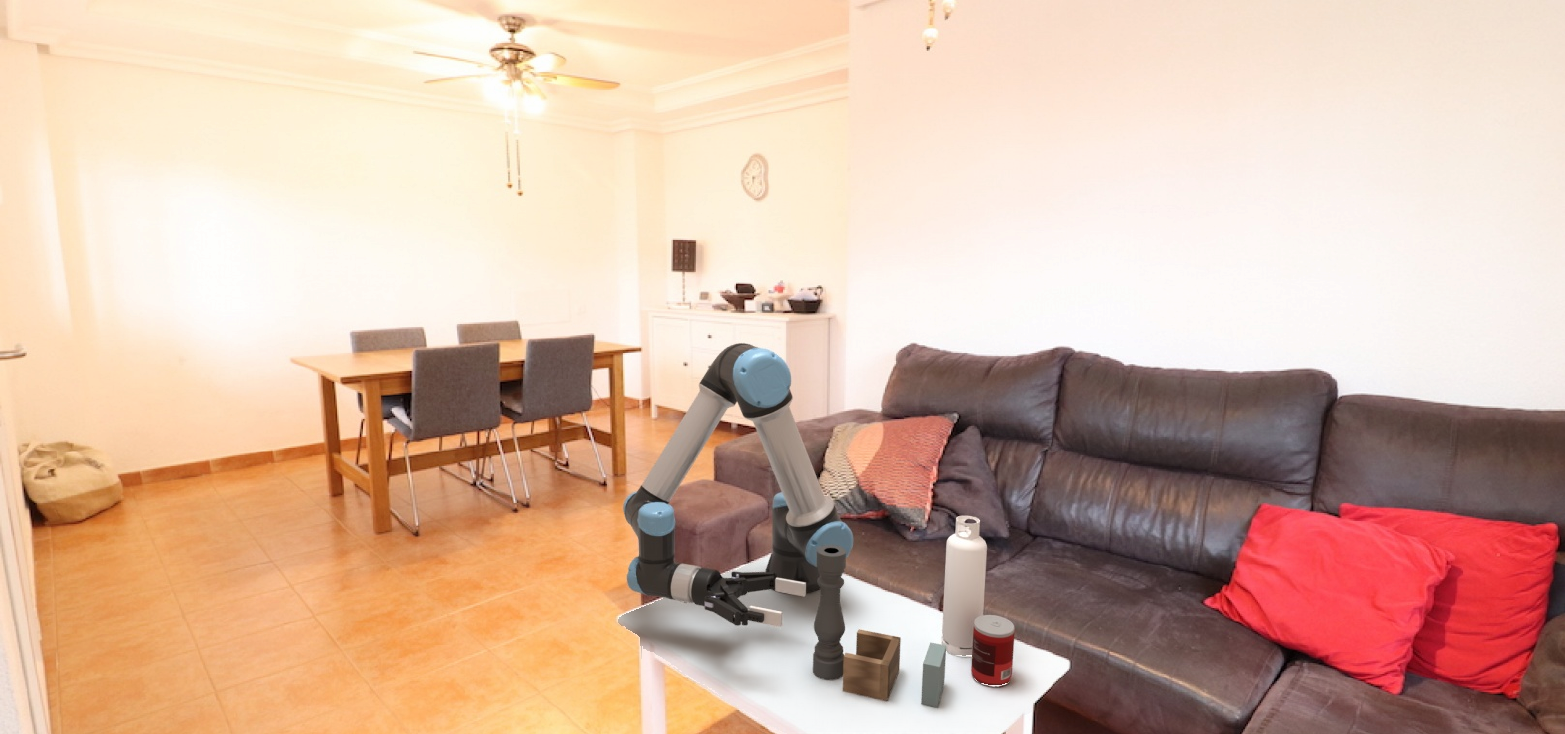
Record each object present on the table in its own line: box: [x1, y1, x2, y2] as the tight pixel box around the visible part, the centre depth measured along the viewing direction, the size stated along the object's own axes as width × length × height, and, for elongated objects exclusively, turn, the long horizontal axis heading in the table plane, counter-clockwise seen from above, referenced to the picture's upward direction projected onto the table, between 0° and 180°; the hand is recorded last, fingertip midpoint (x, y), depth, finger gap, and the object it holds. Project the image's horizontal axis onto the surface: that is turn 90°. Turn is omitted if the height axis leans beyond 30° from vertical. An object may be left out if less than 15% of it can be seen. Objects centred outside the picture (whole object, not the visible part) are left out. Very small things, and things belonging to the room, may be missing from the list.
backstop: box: [920, 642, 947, 709], centre depth 137 cm, size 3×8×8 cm, turn 159°
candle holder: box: [812, 545, 847, 681], centre depth 143 cm, size 6×6×25 cm
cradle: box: [842, 628, 902, 702], centre depth 141 cm, size 8×11×7 cm
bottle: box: [941, 515, 988, 656], centre depth 153 cm, size 8×8×28 cm
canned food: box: [970, 614, 1016, 685], centre depth 143 cm, size 8×8×11 cm
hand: (794, 603), depth 145 cm, fingers open, 13 cm apart
